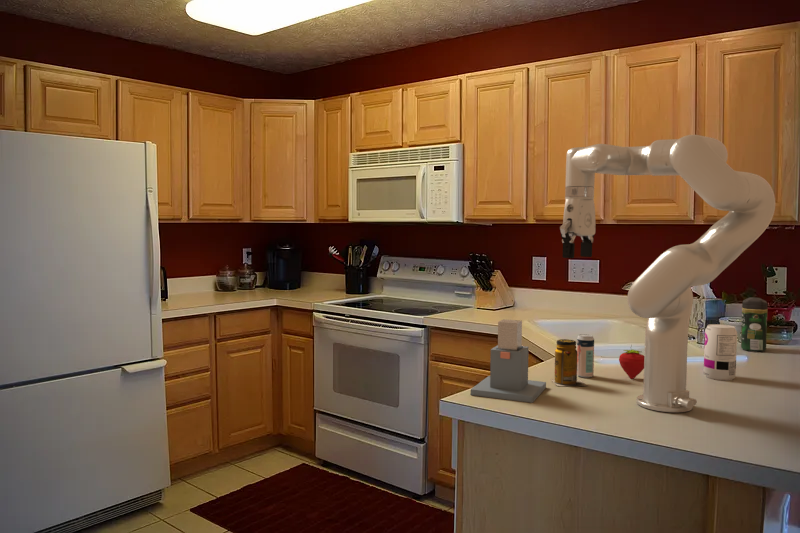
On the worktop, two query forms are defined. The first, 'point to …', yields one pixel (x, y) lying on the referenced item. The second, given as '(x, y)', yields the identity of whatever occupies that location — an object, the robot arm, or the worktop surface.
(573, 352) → the condiment
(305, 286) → the worktop surface
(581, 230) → the robot arm
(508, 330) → the block
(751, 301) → the coffee jar
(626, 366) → the strawberry
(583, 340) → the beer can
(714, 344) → the supplement can
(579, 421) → the worktop surface
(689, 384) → the worktop surface
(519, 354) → the sleeve
